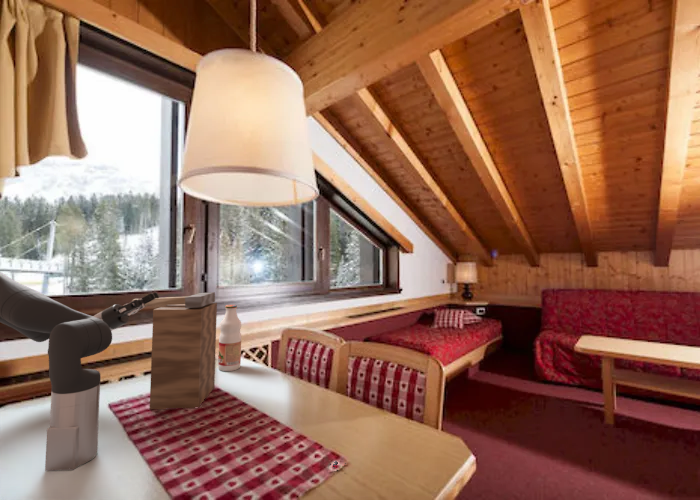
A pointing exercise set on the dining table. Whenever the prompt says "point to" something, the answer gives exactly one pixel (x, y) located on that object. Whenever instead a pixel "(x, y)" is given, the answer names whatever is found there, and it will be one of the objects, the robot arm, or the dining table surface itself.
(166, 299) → the scraper
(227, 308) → the fruit juice
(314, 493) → the dining table surface
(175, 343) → the stand
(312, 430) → the dining table surface
